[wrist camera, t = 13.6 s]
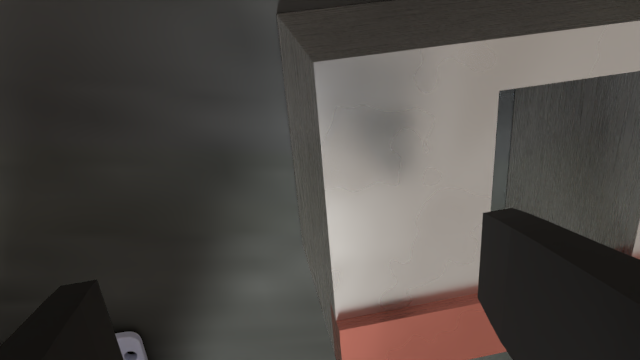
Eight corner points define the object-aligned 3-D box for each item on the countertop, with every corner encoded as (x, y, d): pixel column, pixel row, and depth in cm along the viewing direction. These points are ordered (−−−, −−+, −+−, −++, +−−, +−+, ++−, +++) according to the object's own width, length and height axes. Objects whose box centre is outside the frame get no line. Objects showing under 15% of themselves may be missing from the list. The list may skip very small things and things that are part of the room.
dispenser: (596, 193, 23) (751, 299, 16) (302, 244, 21) (344, 385, 15) (634, -28, 19) (858, -3, 12) (276, 14, 17) (317, 66, 11)
